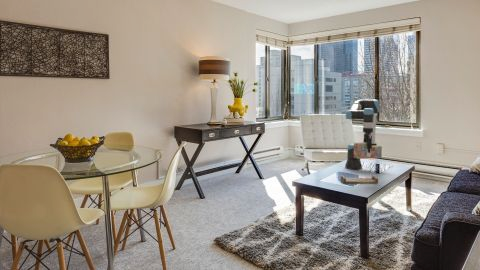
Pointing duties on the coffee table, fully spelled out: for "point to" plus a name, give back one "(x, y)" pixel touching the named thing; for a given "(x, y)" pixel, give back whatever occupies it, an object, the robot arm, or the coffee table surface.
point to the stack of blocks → (361, 151)
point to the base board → (360, 180)
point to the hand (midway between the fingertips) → (367, 155)
